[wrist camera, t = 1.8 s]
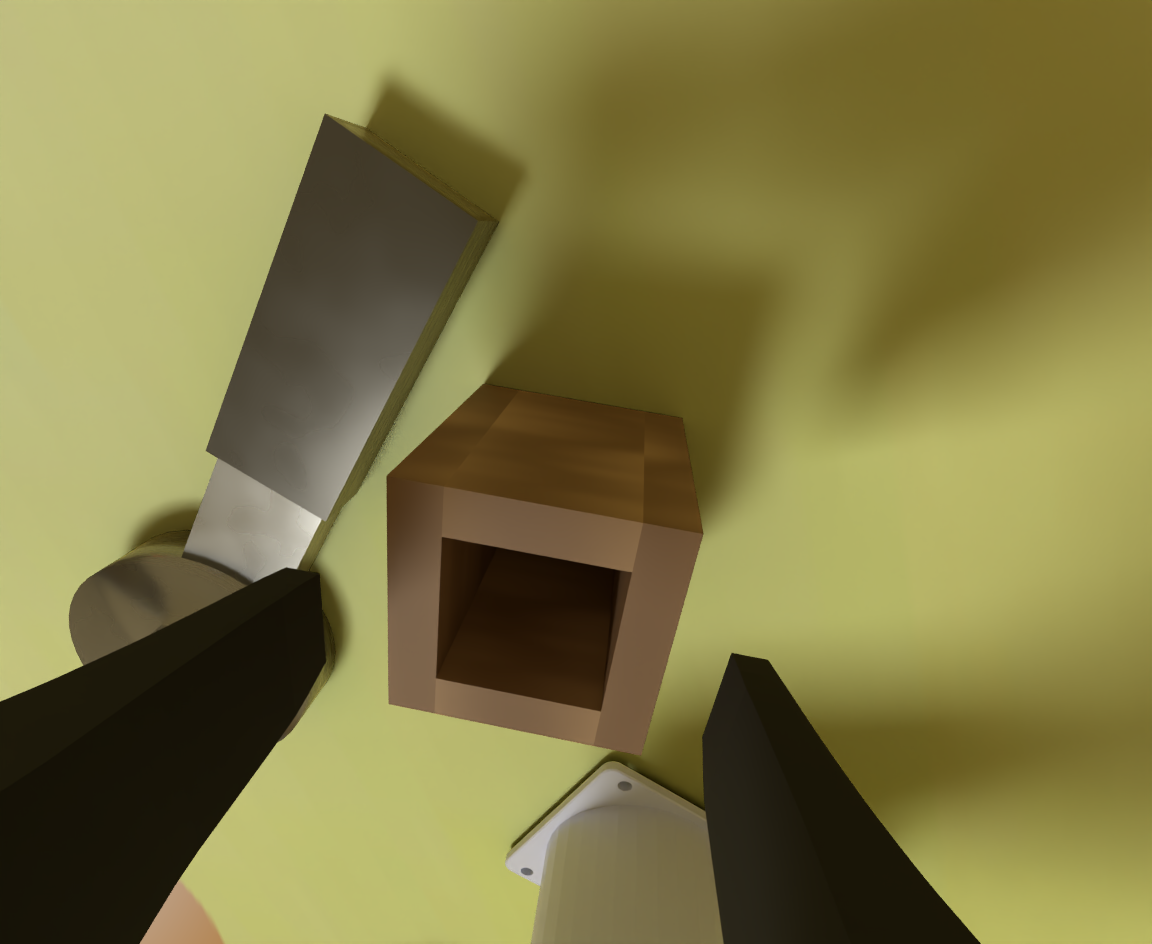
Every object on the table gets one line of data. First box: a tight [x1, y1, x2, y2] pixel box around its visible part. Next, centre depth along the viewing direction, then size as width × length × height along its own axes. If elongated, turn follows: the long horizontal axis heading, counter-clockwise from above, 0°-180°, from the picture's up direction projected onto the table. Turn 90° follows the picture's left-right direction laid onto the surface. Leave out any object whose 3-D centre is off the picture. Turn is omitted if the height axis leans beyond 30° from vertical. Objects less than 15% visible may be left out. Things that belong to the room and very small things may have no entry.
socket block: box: [387, 384, 703, 755], centre depth 13 cm, size 5×5×6 cm
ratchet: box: [69, 114, 499, 742], centre depth 15 cm, size 21×8×6 cm, turn 147°
